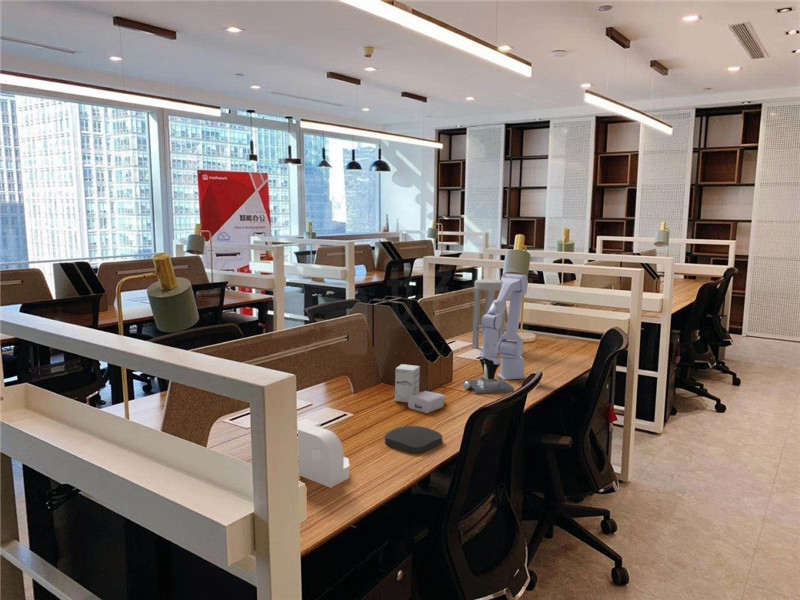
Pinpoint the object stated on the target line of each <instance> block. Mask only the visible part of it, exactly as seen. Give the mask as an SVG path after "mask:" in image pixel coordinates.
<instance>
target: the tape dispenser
mask: <svg viewBox="0 0 800 600" xmlns="http://www.w3.org/2000/svg"><path fill="white" fill-rule="evenodd" d="M297 422H298V452H299V475H298V476H300V477H302V478H305V479H307V480H310V481H313V482H315V483H318V484H320V485H323V486H326V487H328V488H329V489H330V488H333V487H335V486H337V485H339V484H341V483H343V482H345V481H347V480H349V479H350V460H349V457H346V456H345V455H344V454H345V453H344V448H343V445H342V442H341V440H340V438H339V437H338V435H337V434H335V432H333V431H331V430H329V429H327V428H322V427H321V422H317V421H314V420H312V419H309V418H308V419H307V418H304V419H301V420H299V421H297Z"/></svg>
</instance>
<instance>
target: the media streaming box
mask: <svg viewBox="0 0 800 600" xmlns="http://www.w3.org/2000/svg"><path fill="white" fill-rule="evenodd" d="M384 443H385V445H387V446H389V447H392V448H395V450H396V449H397V450H400V451H403V452H406V453H409V454H418V455H419V454H423V453H426V452H428V451H430V450H433V449H435V448H437V447H438V446H440V445H442V444H443V435H442V434H441V433H440V432H439V431H436V430H434V429H431V428H428V427H424V426H419V425H418V426H417V425H408V426H406V425H405V426H400V427H397V428H394V429H391V430H390V431H389V432H388V433H386V434H385V435H384Z"/></svg>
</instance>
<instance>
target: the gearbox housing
mask: <svg viewBox="0 0 800 600" xmlns="http://www.w3.org/2000/svg"><path fill="white" fill-rule="evenodd" d="M463 388H464V390H466V391H467V390H470V391H471V392H473V394H475V395H478V394H481V395H482V394H493V393H495V394H497V393H511V392H515V387H514V386H512V384H509V383H508V382H506V381H505V380H504V379H503V378H496V377H495V376H494V379H493V381H488V382H485V381H484V376H481V377H477V379H474V380H463Z"/></svg>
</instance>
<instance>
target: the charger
mask: <svg viewBox="0 0 800 600" xmlns="http://www.w3.org/2000/svg"><path fill="white" fill-rule="evenodd" d="M446 396H447V395H445V394H442V393H439V392H432V391H427V390H424V391H421V392H419V393H418V394H415V395H412V396H410V397H408V404H407V406H408V409H412V410H415V411H418V412H422V413H425V414H430V413H432V412H434V411H436V410H438V409H441V408H444V402H445V400H447V397H446Z"/></svg>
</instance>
